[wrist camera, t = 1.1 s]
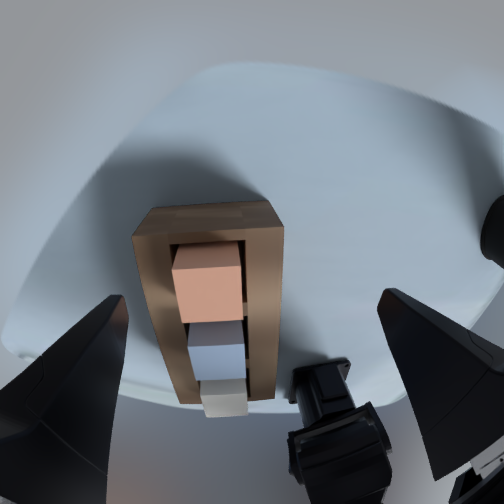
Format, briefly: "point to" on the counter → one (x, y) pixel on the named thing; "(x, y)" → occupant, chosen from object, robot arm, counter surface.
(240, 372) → the key blue
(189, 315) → the key terracotta
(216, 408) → the key cream
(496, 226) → the aerosol can
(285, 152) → the counter surface
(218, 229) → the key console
